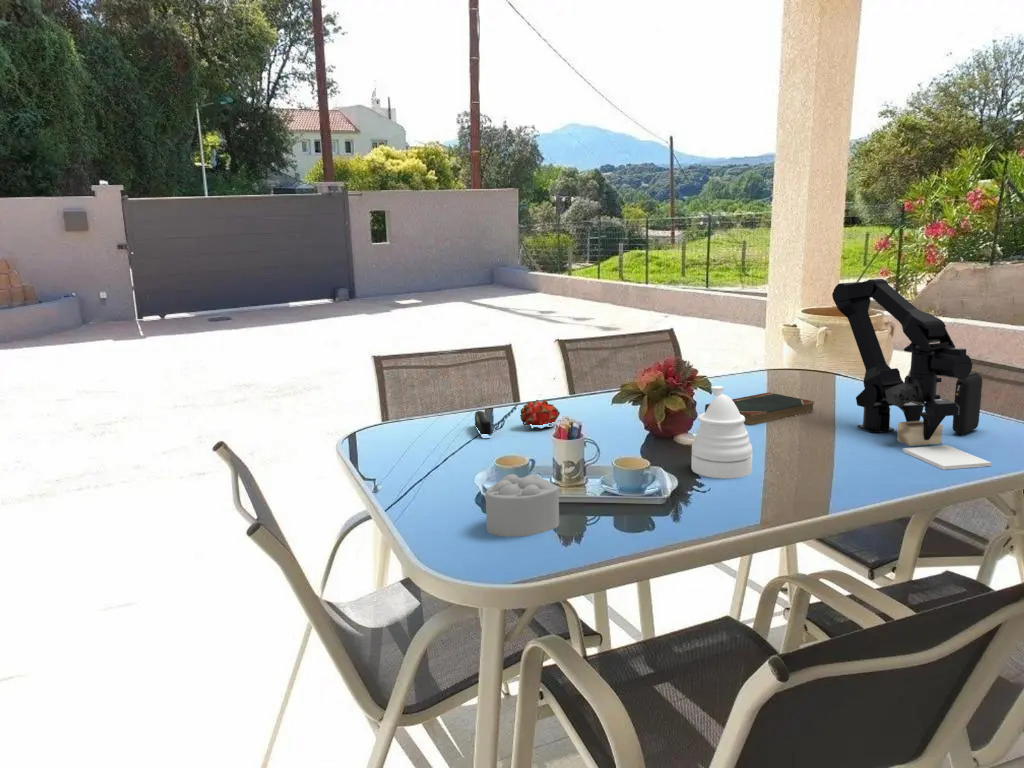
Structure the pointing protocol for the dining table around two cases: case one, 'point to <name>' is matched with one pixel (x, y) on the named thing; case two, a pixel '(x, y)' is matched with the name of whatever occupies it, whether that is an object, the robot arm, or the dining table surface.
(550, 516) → the lumpy-topped squat cylinder
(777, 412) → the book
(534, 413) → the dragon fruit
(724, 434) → the honey pot
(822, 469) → the dining table surface
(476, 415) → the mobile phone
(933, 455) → the mat
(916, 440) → the tan rectangular block
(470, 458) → the dining table surface
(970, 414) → the carrying case or bag
